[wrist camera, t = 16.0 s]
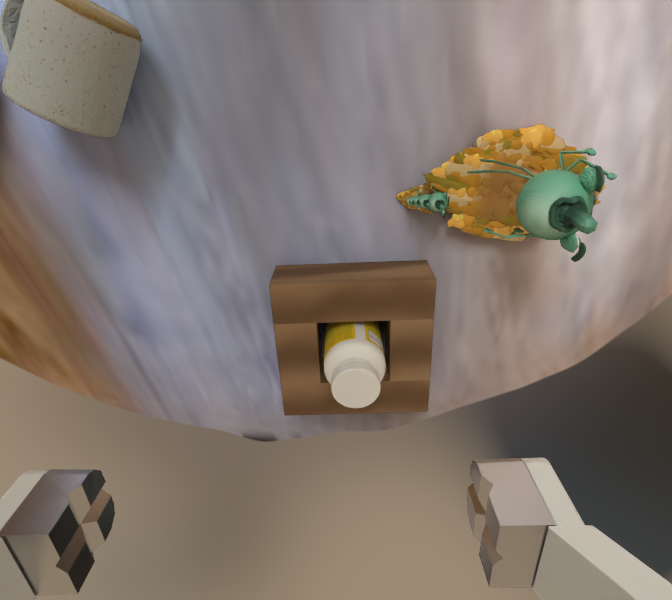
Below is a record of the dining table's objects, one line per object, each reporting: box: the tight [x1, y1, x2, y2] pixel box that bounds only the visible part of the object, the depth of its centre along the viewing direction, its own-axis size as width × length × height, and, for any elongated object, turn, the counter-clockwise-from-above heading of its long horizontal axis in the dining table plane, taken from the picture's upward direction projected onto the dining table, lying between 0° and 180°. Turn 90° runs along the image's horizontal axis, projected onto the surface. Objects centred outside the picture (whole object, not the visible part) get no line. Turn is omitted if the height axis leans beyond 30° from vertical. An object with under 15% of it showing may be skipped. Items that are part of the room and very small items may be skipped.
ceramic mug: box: [0, 0, 141, 137], centre depth 30 cm, size 10×8×7 cm
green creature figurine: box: [396, 124, 617, 262], centre depth 32 cm, size 10×18×15 cm, turn 84°
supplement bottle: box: [324, 321, 386, 408], centre depth 39 cm, size 5×5×10 cm
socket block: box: [269, 260, 436, 415], centre depth 42 cm, size 14×14×4 cm
